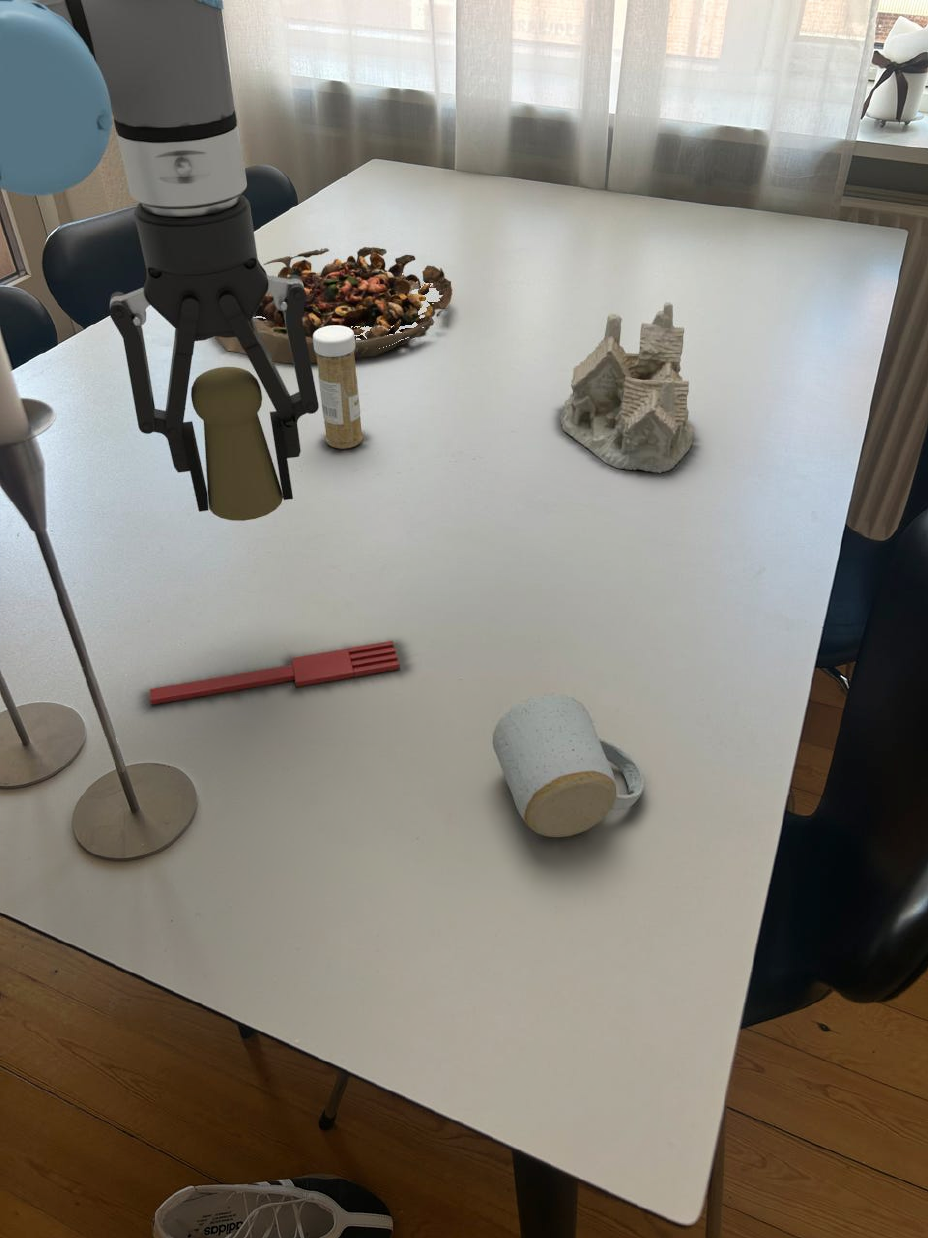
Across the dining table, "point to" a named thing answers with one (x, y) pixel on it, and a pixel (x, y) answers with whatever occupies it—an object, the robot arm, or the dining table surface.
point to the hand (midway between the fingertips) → (245, 495)
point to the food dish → (352, 303)
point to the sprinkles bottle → (338, 385)
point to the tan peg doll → (235, 445)
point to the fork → (292, 672)
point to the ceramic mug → (561, 766)
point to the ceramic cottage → (632, 398)
